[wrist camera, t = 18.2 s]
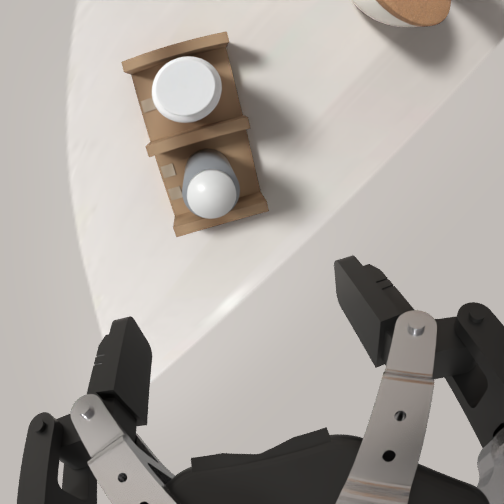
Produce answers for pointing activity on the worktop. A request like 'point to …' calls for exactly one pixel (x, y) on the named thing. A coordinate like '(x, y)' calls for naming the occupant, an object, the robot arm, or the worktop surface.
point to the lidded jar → (405, 11)
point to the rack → (197, 131)
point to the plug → (209, 184)
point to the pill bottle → (186, 89)
